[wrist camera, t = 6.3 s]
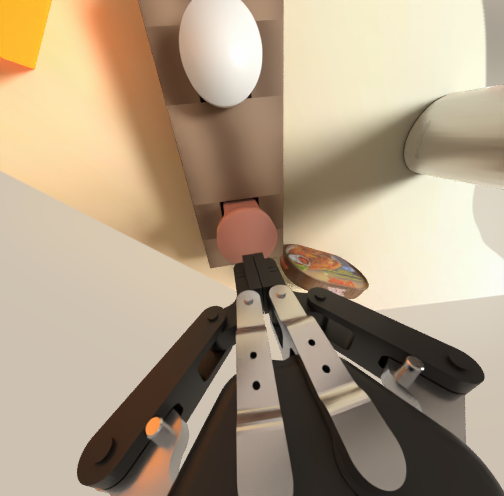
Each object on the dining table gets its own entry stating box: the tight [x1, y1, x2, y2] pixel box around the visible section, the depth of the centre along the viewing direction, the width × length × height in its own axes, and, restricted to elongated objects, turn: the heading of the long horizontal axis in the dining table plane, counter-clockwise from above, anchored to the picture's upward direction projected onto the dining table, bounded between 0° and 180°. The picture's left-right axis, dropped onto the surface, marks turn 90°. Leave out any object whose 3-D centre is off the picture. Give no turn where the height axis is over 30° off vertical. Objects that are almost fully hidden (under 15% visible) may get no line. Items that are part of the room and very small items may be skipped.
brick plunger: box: [217, 198, 278, 264], centre depth 19 cm, size 6×6×6 cm
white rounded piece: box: [179, 0, 262, 108], centre depth 15 cm, size 6×6×6 cm
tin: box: [280, 245, 369, 299], centre depth 29 cm, size 15×3×8 cm, turn 69°
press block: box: [138, 0, 283, 268], centre depth 20 cm, size 10×26×5 cm, turn 5°
